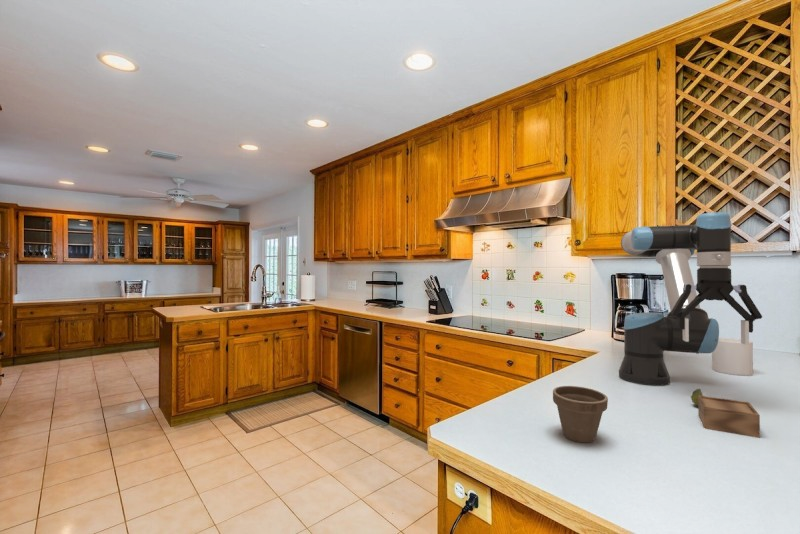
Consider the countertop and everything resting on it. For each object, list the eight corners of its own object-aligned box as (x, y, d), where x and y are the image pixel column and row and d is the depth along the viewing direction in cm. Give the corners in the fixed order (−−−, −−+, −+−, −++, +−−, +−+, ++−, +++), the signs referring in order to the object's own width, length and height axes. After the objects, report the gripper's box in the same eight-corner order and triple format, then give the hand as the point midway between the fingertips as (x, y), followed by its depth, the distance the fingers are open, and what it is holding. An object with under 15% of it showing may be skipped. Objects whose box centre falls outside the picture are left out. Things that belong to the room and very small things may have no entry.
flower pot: (616, 450, 80) (616, 402, 81) (559, 446, 82) (559, 399, 82) (598, 428, 92) (597, 386, 92) (548, 425, 94) (548, 384, 94)
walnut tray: (704, 429, 92) (703, 406, 92) (698, 416, 101) (698, 395, 101) (759, 439, 87) (759, 414, 87) (749, 424, 95) (748, 402, 95)
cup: (746, 377, 137) (746, 344, 137) (707, 370, 147) (706, 339, 147) (757, 373, 143) (757, 341, 143) (718, 366, 153) (718, 336, 153)
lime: (701, 404, 109) (701, 386, 109) (716, 410, 104) (715, 392, 104) (686, 404, 109) (686, 386, 109) (700, 410, 104) (699, 392, 104)
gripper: (665, 267, 110) (665, 341, 109) (777, 267, 100) (779, 348, 100) (658, 267, 117) (659, 337, 116) (763, 267, 107) (764, 343, 107)
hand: (714, 342), depth 108 cm, fingers open, 13 cm apart
